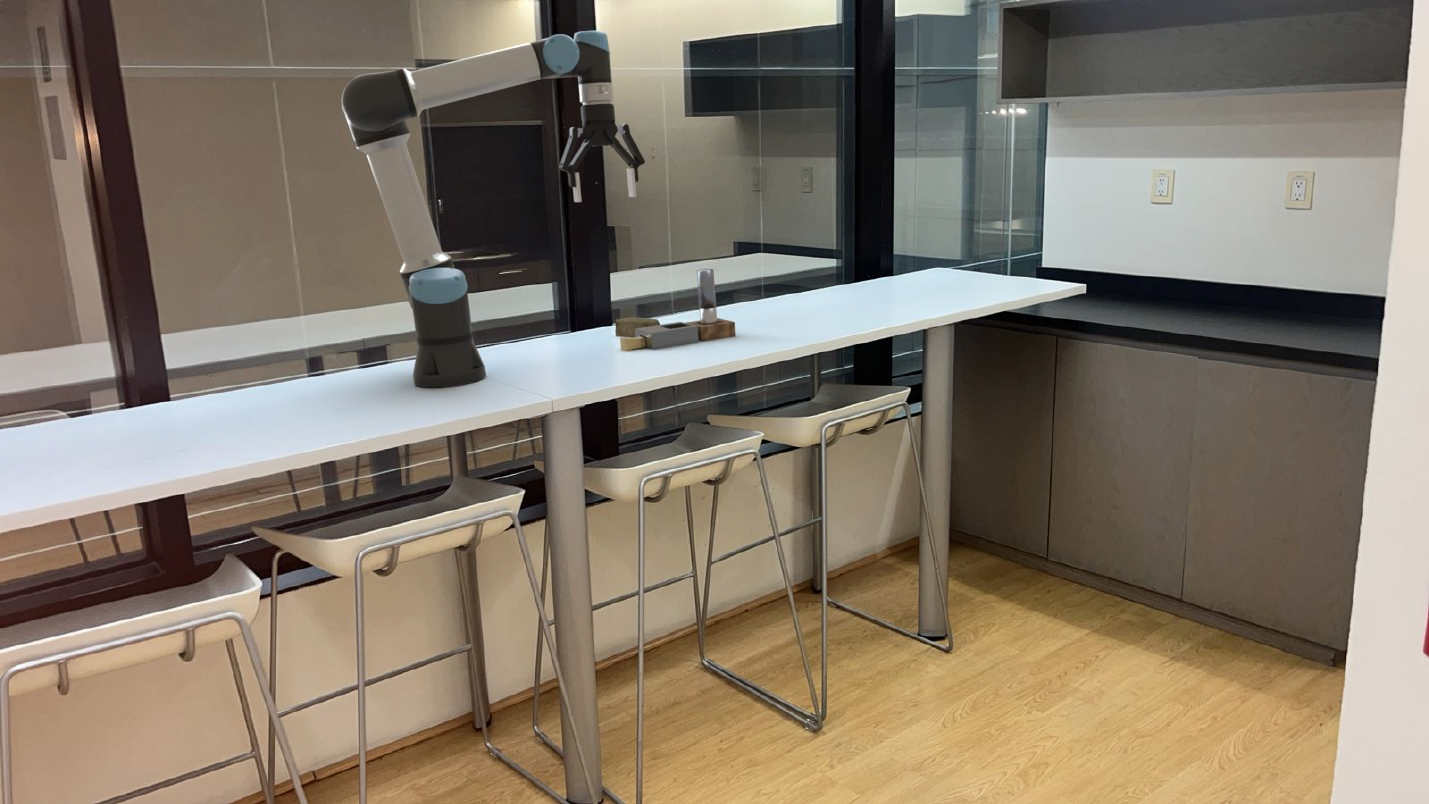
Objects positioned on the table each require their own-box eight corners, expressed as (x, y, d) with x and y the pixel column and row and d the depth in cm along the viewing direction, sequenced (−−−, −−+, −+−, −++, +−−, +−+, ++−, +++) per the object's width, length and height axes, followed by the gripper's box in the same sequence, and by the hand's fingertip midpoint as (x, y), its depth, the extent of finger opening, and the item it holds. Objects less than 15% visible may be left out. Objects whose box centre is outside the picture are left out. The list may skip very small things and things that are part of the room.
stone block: (647, 341, 258) (645, 321, 257) (613, 339, 265) (611, 319, 264) (663, 337, 262) (661, 317, 261) (629, 335, 269) (628, 315, 268)
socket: (652, 352, 243) (651, 333, 242) (636, 346, 251) (635, 328, 250) (698, 344, 249) (697, 326, 248) (681, 339, 256) (680, 321, 255)
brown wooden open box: (702, 343, 249) (701, 327, 248) (685, 339, 257) (684, 322, 256) (735, 338, 253) (734, 322, 252) (717, 333, 261) (716, 317, 260)
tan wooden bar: (626, 351, 243) (625, 339, 243) (621, 349, 246) (620, 337, 245) (660, 346, 247) (659, 334, 247) (654, 344, 250) (653, 332, 249)
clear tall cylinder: (706, 338, 252) (701, 271, 248) (698, 336, 256) (693, 270, 252) (721, 336, 254) (716, 269, 250) (713, 334, 257) (708, 268, 254)
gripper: (550, 105, 230) (560, 204, 235) (654, 100, 241) (661, 195, 246) (538, 107, 236) (548, 203, 241) (640, 102, 247) (648, 194, 252)
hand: (605, 199), depth 243 cm, fingers open, 13 cm apart
